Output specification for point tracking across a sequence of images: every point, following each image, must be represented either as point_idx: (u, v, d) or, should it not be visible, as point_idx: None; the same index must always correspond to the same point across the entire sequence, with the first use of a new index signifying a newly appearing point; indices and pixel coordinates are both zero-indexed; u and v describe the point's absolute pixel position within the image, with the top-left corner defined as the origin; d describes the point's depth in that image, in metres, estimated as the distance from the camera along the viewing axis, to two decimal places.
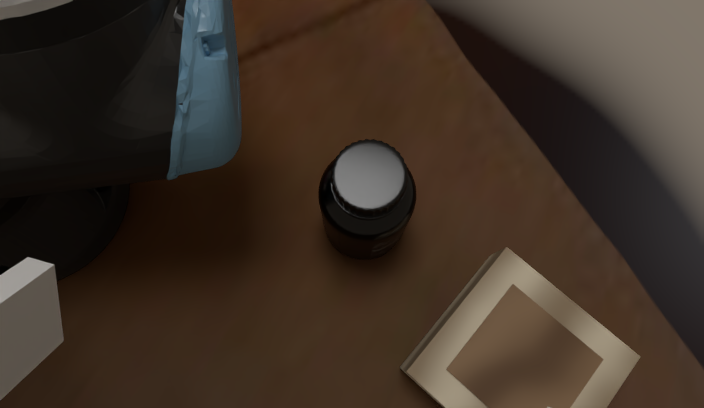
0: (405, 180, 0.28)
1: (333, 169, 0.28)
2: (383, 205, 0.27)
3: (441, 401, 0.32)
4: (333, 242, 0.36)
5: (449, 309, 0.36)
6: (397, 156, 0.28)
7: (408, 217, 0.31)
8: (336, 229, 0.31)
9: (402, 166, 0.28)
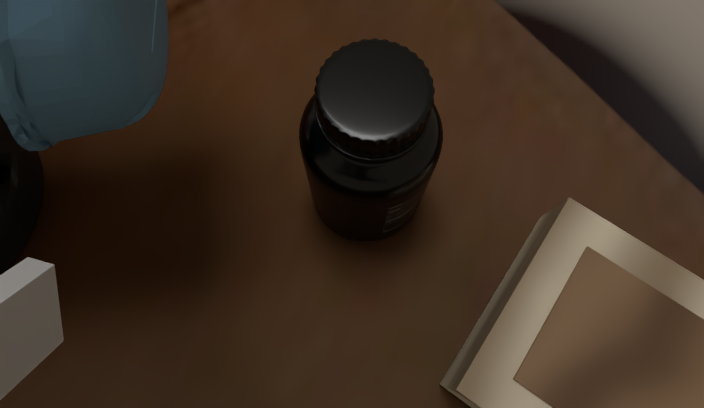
0: (431, 91, 0.18)
1: (317, 86, 0.18)
2: (402, 130, 0.17)
3: None
4: (328, 219, 0.26)
5: (498, 294, 0.26)
6: (413, 58, 0.18)
7: (435, 159, 0.21)
8: (331, 188, 0.20)
9: (423, 72, 0.18)
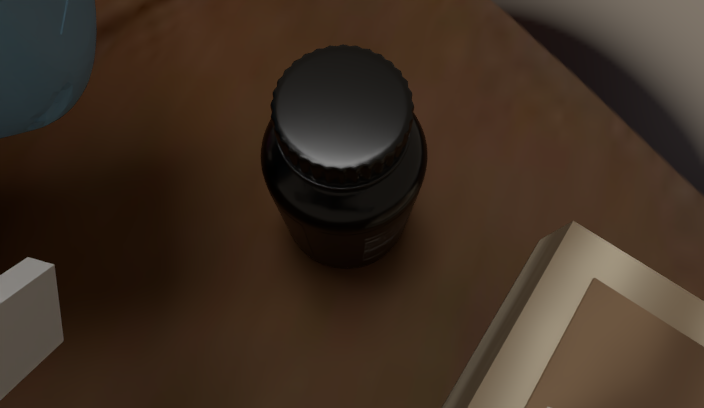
0: (409, 107, 0.15)
1: (274, 102, 0.15)
2: (375, 155, 0.14)
3: None
4: (302, 246, 0.23)
5: (494, 329, 0.23)
6: (389, 68, 0.15)
7: (419, 183, 0.18)
8: (297, 218, 0.18)
9: (400, 84, 0.15)
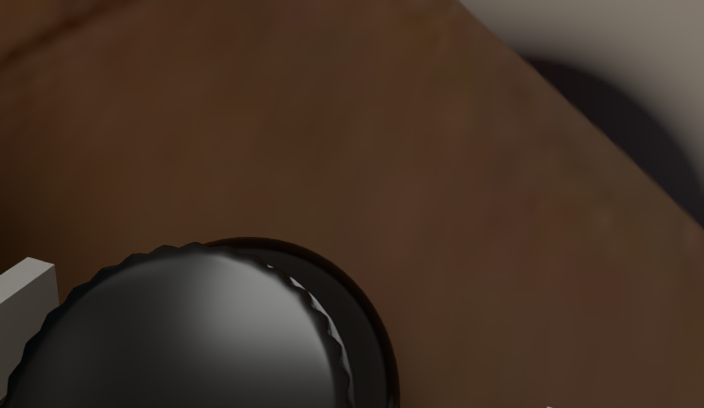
0: None
1: None
2: None
3: None
4: None
5: None
6: (296, 310, 0.06)
7: None
8: None
9: (321, 356, 0.06)
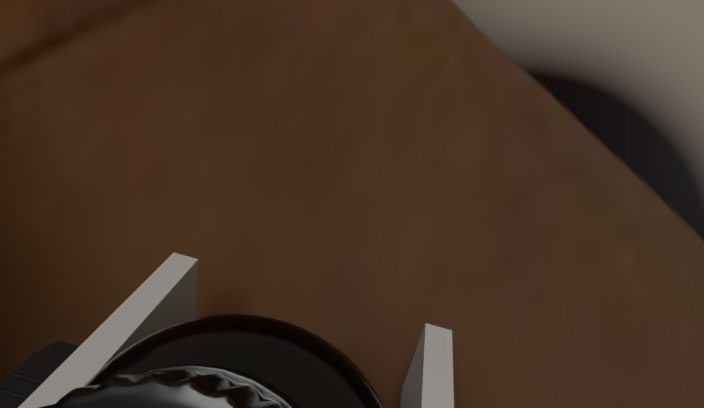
0: None
1: None
2: None
3: None
4: None
5: None
6: None
7: None
8: None
9: None
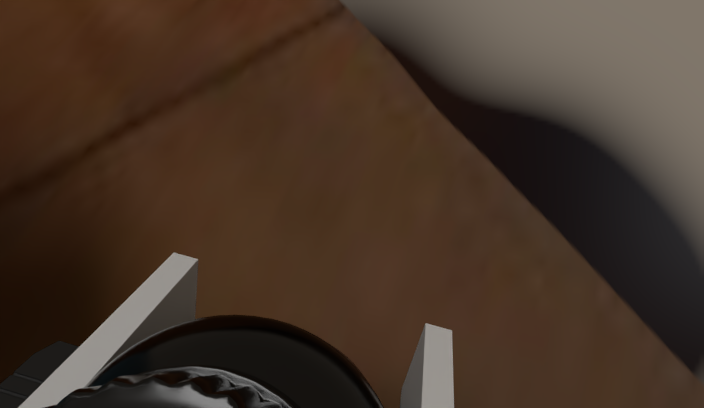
0: None
1: None
2: None
3: None
4: None
5: None
6: None
7: None
8: None
9: None
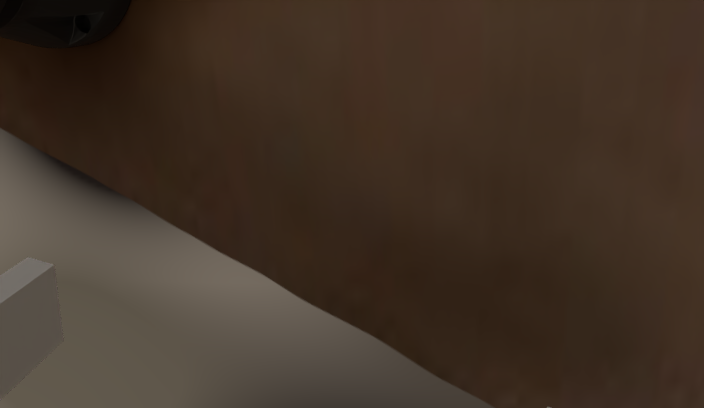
0: None
1: None
2: None
3: None
4: None
5: None
6: None
7: None
8: None
9: None
